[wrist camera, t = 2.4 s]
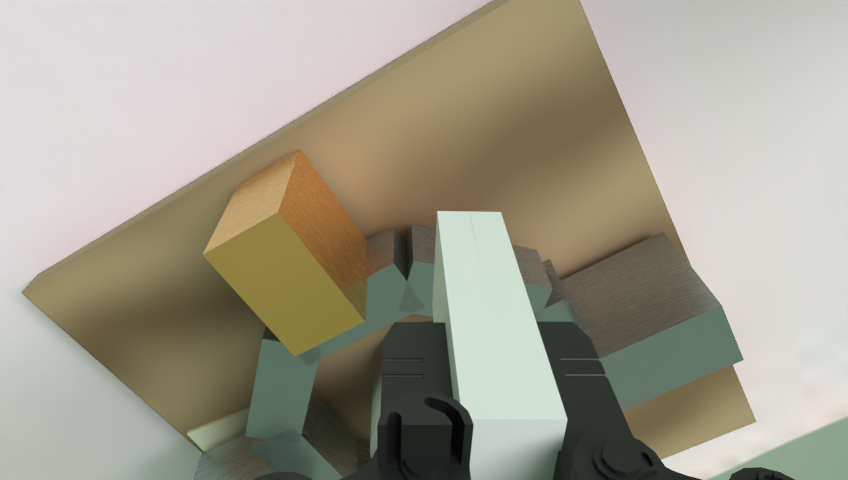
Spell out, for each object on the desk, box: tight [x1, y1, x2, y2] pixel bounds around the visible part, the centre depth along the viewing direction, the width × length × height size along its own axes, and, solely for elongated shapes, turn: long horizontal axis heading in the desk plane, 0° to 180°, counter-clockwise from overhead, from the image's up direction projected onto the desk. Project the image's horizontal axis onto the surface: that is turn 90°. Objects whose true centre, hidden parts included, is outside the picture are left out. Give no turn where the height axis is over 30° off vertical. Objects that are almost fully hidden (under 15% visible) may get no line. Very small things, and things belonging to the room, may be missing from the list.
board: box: [22, 0, 756, 460], centre depth 24 cm, size 22×22×6 cm
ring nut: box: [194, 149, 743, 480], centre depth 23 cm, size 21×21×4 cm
